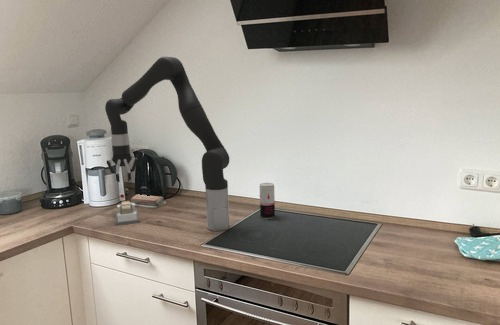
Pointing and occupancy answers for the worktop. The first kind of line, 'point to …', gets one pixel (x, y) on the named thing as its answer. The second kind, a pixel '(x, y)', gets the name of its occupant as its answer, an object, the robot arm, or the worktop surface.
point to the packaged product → (147, 201)
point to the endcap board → (127, 215)
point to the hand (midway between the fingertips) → (123, 181)
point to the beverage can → (267, 200)
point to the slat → (126, 207)
